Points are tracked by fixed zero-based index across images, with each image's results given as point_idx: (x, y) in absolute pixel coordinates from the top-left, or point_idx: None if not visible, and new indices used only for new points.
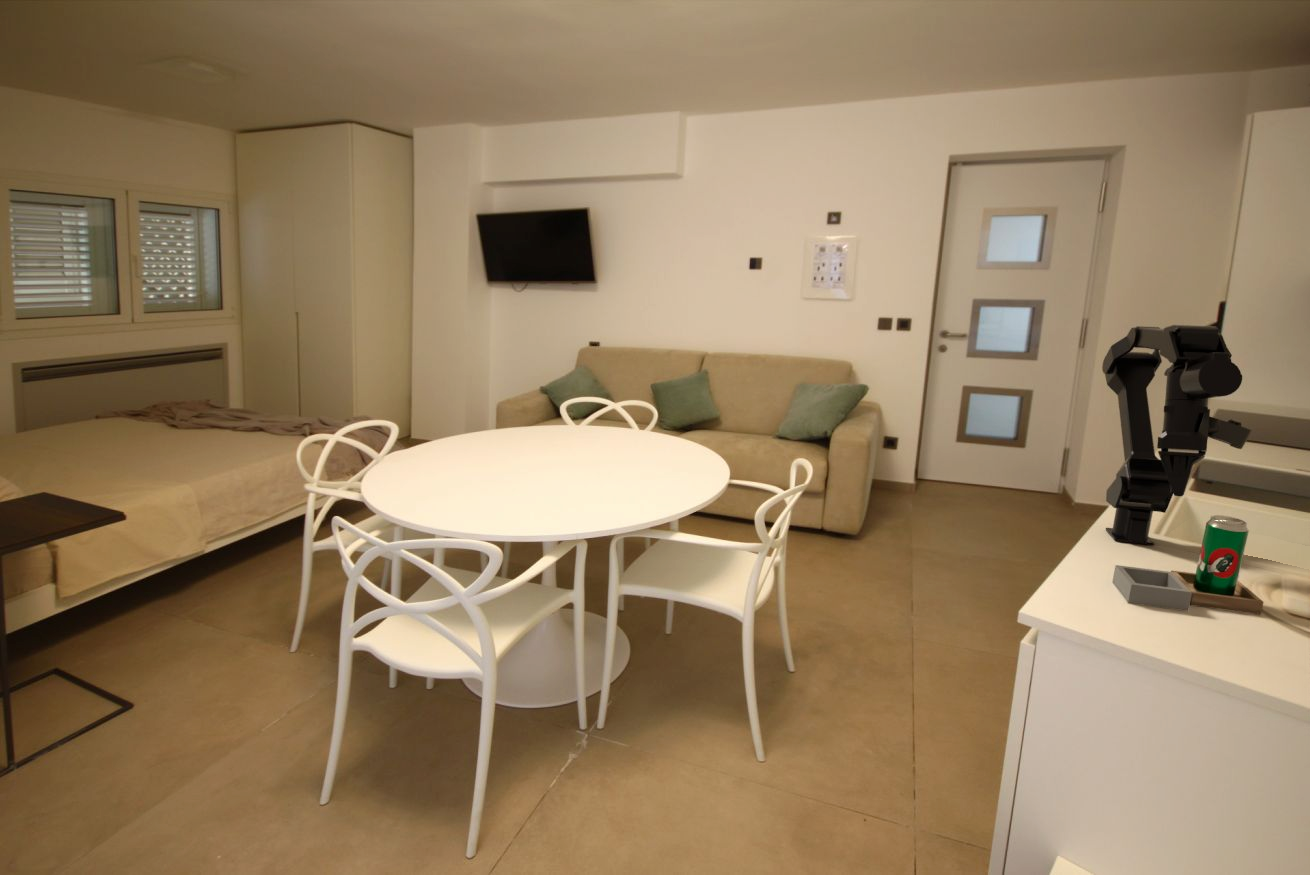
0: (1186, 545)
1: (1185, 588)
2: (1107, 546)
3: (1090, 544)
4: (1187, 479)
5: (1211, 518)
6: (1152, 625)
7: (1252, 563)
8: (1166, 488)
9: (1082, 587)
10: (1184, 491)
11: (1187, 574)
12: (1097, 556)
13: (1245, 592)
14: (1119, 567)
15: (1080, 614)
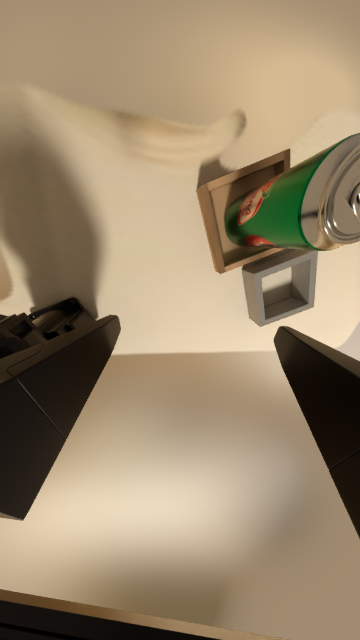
0: (17, 256)
1: (307, 257)
2: (131, 338)
3: (139, 351)
4: (350, 358)
5: (354, 242)
6: (341, 276)
7: (5, 136)
8: (16, 350)
9: (274, 334)
10: (112, 319)
11: (221, 254)
12: (177, 339)
13: (248, 174)
14: (266, 322)
15: (332, 325)
